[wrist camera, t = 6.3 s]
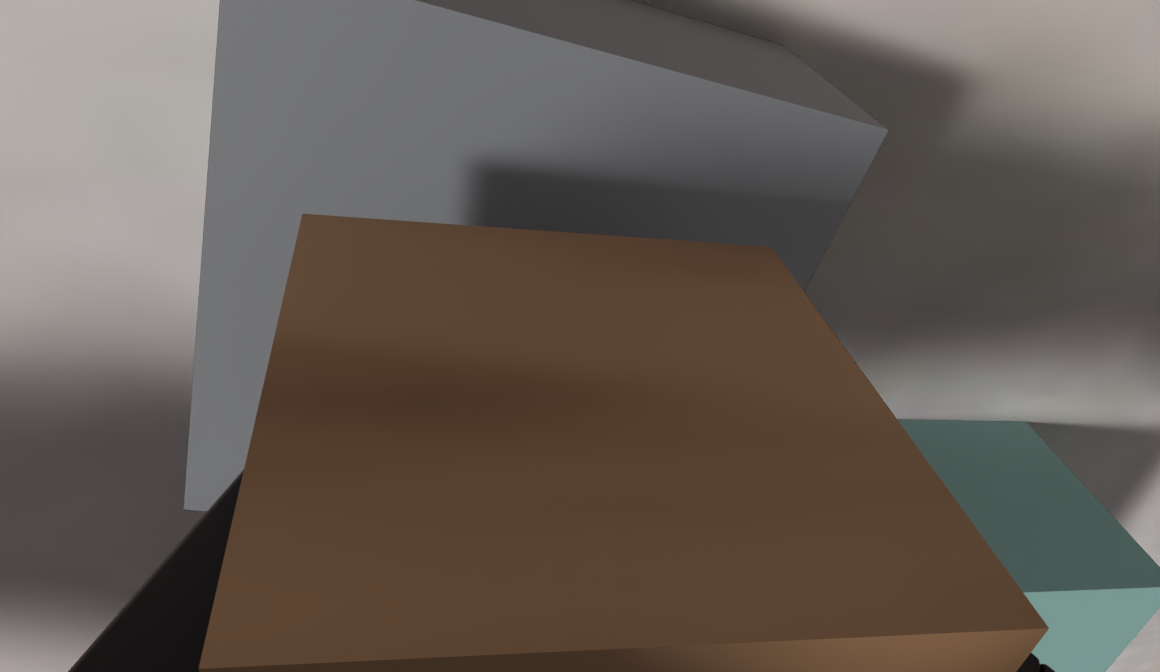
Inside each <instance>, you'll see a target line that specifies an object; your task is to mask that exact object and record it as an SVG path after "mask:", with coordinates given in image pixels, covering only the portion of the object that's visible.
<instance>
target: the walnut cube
mask: <svg viewBox="0 0 1160 672" xmlns="http://www.w3.org/2000/svg"><path fill="white" fill-rule="evenodd" d="M1048 629H1049V627H1048V626H1047V625H1046V623H1045V622H1044V621H1043V619H1042V618H1041V616H1040V615H1039V614H1038V612H1037V611H1036V610H1035V608H1034V607H1033V605H1032V604H1031V603H1030V601H1029V600H1028V599H1027V597H1026V596H1025V594H1024V593H1023V592H1022V590H1021V589H1020V588H1019V586H1018V585H1017V583H1016V582H1015V581H1014V579H1013V578H1012V577H1011V575H1010V574H1009V572H1008V571H1007V570H1006V568H1005V567H1004V566H1003V564H1002V563H1001V561H1000V560H999V559H998V557H997V556H996V555H995V553H994V552H993V551H992V549H991V548H990V546H989V545H988V544H987V542H986V541H985V540H984V538H983V537H982V535H981V534H980V533H979V531H978V530H977V529H976V527H975V526H974V524H973V523H972V522H971V520H970V519H969V518H968V516H967V515H966V513H965V512H964V511H963V509H962V508H961V507H960V505H959V504H958V502H957V501H956V500H955V498H954V497H953V496H952V494H951V493H950V491H949V490H948V489H947V487H946V486H945V485H944V483H943V482H942V480H941V479H940V478H939V476H938V475H937V474H936V472H935V471H934V469H933V468H932V467H931V465H930V464H929V463H928V461H927V460H926V458H925V457H924V456H923V454H922V453H921V452H920V450H919V449H918V447H917V446H916V445H915V443H914V442H913V441H912V439H911V438H910V437H909V435H908V434H907V432H906V431H905V430H904V428H903V427H902V426H901V424H900V423H899V421H898V420H897V419H896V417H895V416H894V415H893V413H892V412H891V410H890V409H889V408H888V406H887V405H886V404H885V402H884V401H883V399H882V398H881V397H880V395H879V394H878V393H877V391H876V390H875V388H874V387H873V386H872V384H871V383H870V382H869V380H868V379H867V377H866V376H865V375H864V373H863V372H862V371H861V369H860V368H859V366H858V365H857V364H856V362H855V361H854V360H853V358H852V357H851V355H850V354H849V353H848V351H847V350H846V349H845V347H844V346H843V344H842V343H841V342H840V340H839V339H838V338H837V336H836V335H835V333H834V332H833V331H832V329H831V328H830V327H829V325H828V324H827V322H826V321H825V320H824V318H823V317H822V316H821V314H820V313H819V312H818V310H817V309H816V307H815V306H814V305H813V303H812V302H811V301H810V299H809V298H808V296H807V295H806V294H805V292H804V291H803V290H802V288H801V287H800V285H799V284H798V283H797V281H796V280H795V279H794V277H793V276H792V274H791V273H790V272H789V270H788V269H787V268H786V266H785V265H784V263H783V262H782V261H781V259H780V258H779V257H778V255H777V254H776V252H775V251H774V250H773V248H772V247H765V246H751V245H737V244H723V243H709V242H695V241H681V240H667V239H653V238H639V237H625V236H611V235H597V234H582V233H568V232H554V231H540V230H526V229H512V228H498V227H484V226H470V225H456V224H442V223H428V222H414V221H400V220H385V219H371V218H357V217H343V216H329V215H315V214H302V218H301V222H300V226H299V231H298V235H297V240H296V244H295V248H294V253H293V257H292V261H291V266H290V270H289V275H288V279H287V283H286V288H285V292H284V296H283V301H282V305H281V310H280V314H279V318H278V323H277V327H276V332H275V336H274V340H273V345H272V349H271V353H270V358H269V362H268V367H267V371H266V375H265V380H264V384H263V388H262V393H261V397H260V402H259V406H258V410H257V415H256V419H255V424H254V428H253V432H252V437H251V441H250V445H249V450H248V454H247V459H246V463H245V467H244V472H243V476H242V480H241V485H240V489H239V494H238V498H237V502H236V507H235V511H234V516H233V520H232V524H231V529H230V533H229V537H228V542H227V546H226V551H225V555H224V559H223V564H222V568H221V572H220V577H219V581H218V586H217V590H216V594H215V599H214V603H213V608H212V612H211V616H210V621H209V625H208V629H207V634H206V638H205V643H204V647H203V651H202V656H201V660H200V665H199V672H1017V670H1018V669H1019V668H1020V666H1021V665H1022V664H1023V662H1024V661H1025V660H1026V658H1027V657H1028V656H1029V654H1030V653H1031V652H1032V650H1033V649H1034V648H1035V646H1036V645H1037V644H1038V642H1039V641H1040V640H1041V638H1042V637H1043V636H1044V635H1045V633H1046V632H1047V631H1048Z"/></svg>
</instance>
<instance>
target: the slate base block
mask: <svg viewBox="0 0 1160 672" xmlns="http://www.w3.org/2000/svg"><path fill="white" fill-rule="evenodd" d="M887 132H888V129H887V128H886V127H885V126H883V125H882V124H881V123H880V122H878V121H877V120H876V119H875V118H873V117H872V116H871V115H870V114H868V113H867V112H866V111H865V110H863V109H862V108H861V107H860V106H858V105H857V104H856V103H855V102H853V101H852V100H851V99H850V98H848V97H847V96H846V95H845V94H843V93H842V92H841V91H840V90H838V89H837V88H836V87H835V86H833V85H832V84H831V83H830V82H828V81H827V80H826V79H825V78H823V77H822V76H821V75H820V74H818V73H817V72H816V71H815V70H813V69H812V68H811V67H810V66H808V65H807V64H806V63H805V62H803V61H802V60H801V59H800V58H798V57H797V56H796V55H795V54H793V53H792V52H791V51H790V50H789V49H787V48H786V47H785V46H783V45H780V44H776V43H773V42H770V41H766V40H763V39H760V38H756V37H753V36H750V35H746V34H743V33H739V32H736V31H733V30H729V29H726V28H723V27H719V26H716V25H713V24H709V23H706V22H702V21H699V20H696V19H692V18H689V17H686V16H682V15H679V14H676V13H672V12H669V11H665V10H662V9H659V8H655V7H652V6H649V5H645V4H642V3H639V2H635V1H632V0H220V5H219V19H218V33H217V47H216V61H215V75H214V89H213V103H212V117H211V131H210V145H209V159H208V173H207V187H206V201H205V215H204V229H203V243H202V257H201V271H200V285H199V299H198V313H197V327H196V341H195V355H194V369H193V383H192V397H191V411H190V425H189V439H188V453H187V467H186V481H185V496H184V509H185V510H197V511H208V510H209V508H210V507H211V506H212V505H213V504H214V503H215V502H216V500H217V499H218V498H219V497H220V496H221V495H222V493H223V492H224V491H225V490H226V489H227V488H228V487H229V485H230V484H231V483H232V482H233V481H234V480H235V478H236V477H237V476H238V475H239V474H240V473H241V472H242V470H243V469H244V467H245V463H246V459H247V454H248V450H249V445H250V441H251V437H252V432H253V428H254V424H255V419H256V415H257V410H258V406H259V402H260V397H261V393H262V388H263V384H264V380H265V375H266V371H267V367H268V362H269V358H270V353H271V349H272V345H273V340H274V336H275V332H276V327H277V323H278V318H279V314H280V310H281V305H282V301H283V296H284V292H285V288H286V283H287V279H288V275H289V270H290V266H291V261H292V257H293V253H294V248H295V244H296V240H297V235H298V231H299V226H300V222H301V218H302V214H315V215H329V216H343V217H357V218H371V219H385V220H400V221H414V222H428V223H442V224H456V225H470V226H484V227H498V228H512V229H526V230H540V231H554V232H568V233H582V234H597V235H611V236H625V237H639V238H653V239H667V240H681V241H695V242H709V243H723V244H737V245H751V246H765V247H772V248H773V250H774V251H775V252H776V254H777V255H778V257H779V258H780V259H781V261H782V262H783V263H784V265H785V266H786V268H787V269H788V270H789V272H790V273H791V274H792V276H793V277H794V279H795V280H796V281H797V283H798V284H799V285H800V287H801V288H802V290H803V291H804V292H805V290H806V288H807V286H808V284H809V282H810V280H811V278H812V276H813V274H814V272H815V271H816V269H817V267H818V265H819V263H820V261H821V259H822V257H823V255H824V253H825V251H826V249H827V247H828V246H829V244H830V242H831V240H832V238H833V236H834V234H835V232H836V230H837V228H838V226H839V224H840V223H841V221H842V219H843V217H844V215H845V213H846V211H847V209H848V207H849V205H850V203H851V201H852V199H853V198H854V196H855V194H856V192H857V190H858V188H859V186H860V184H861V182H862V180H863V178H864V176H865V174H866V173H867V171H868V169H869V167H870V165H871V163H872V161H873V159H874V157H875V155H876V153H877V151H878V150H879V148H880V146H881V144H882V142H883V140H884V138H885V136H886V134H887Z"/></svg>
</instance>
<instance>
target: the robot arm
mask: <svg viewBox="0 0 1160 672" xmlns="http://www.w3.org/2000/svg"><path fill="white" fill-rule="evenodd" d="M243 472H244V469H243V470H242V472H241V473H240V474H239V475H238V476H237V477H236V478H235V480H234V481H233V482H232V483H231V484H230V485H229V487H228V488H227V489H226V490H225V491H224V492H223V493H222V495H221V496H220V497H219V498H218V499H217V500H216V502H215V503H214V504H213V505H212V506H211V507H210V508H209V510H208V511H207V512H206V513H205V514H204V515H203V517H202V518H201V519H200V520H199V521H198V522H197V523H196V525H195V526H194V527H193V528H192V529H191V530H190V532H189V533H188V534H187V535H186V536H185V537H184V539H183V540H182V541H181V542H180V543H179V544H178V545H177V547H176V548H175V549H174V550H173V551H172V552H171V554H170V555H169V556H168V557H167V558H166V559H165V560H164V562H163V563H162V564H161V565H160V566H159V567H158V569H157V570H156V571H155V572H154V573H153V574H152V575H151V577H150V578H149V579H148V580H147V581H146V582H145V584H144V585H143V586H142V587H141V588H140V589H139V590H138V592H137V593H136V594H135V595H134V596H133V597H132V599H131V600H130V601H129V602H128V603H127V604H126V605H125V607H124V608H123V609H122V610H121V611H120V612H119V614H118V615H117V616H116V617H115V618H114V619H113V620H112V622H111V623H110V624H109V625H108V626H107V627H106V629H105V630H104V631H103V632H102V633H101V634H100V635H99V637H98V638H97V639H96V640H95V641H94V642H93V644H92V645H91V646H90V647H89V648H88V649H87V650H86V652H85V653H84V654H83V655H82V656H81V657H80V659H79V660H78V661H77V662H76V663H75V664H74V665H73V667H72V668H71V669H70V670H69V671H68V672H199V665H200V660H201V656H202V651H203V647H204V643H205V638H206V634H207V629H208V625H209V621H210V616H211V612H212V608H213V603H214V599H215V594H216V590H217V586H218V581H219V577H220V572H221V568H222V564H223V559H224V555H225V551H226V546H227V542H228V537H229V533H230V529H231V524H232V520H233V516H234V511H235V507H236V502H237V498H238V494H239V489H240V485H241V480H242V476H243ZM1017 672H1055V671H1054V670H1053V669H1051V668H1050V667H1049V666H1048V665H1046V664H1040V662H1039V659H1038V658H1037V657H1036V656H1035V655H1034V654H1032V653H1030V654H1029V656H1028V657H1027V658H1026V660H1025V661H1024V662H1023V664H1022V665H1021V666H1020V668H1019V669H1018V670H1017Z"/></svg>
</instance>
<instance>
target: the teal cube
mask: <svg viewBox="0 0 1160 672" xmlns="http://www.w3.org/2000/svg"><path fill="white" fill-rule="evenodd" d="M897 420H898V421H899V423H900V424H901V426H902V427H903V428H904V430H905V431H906V432H907V434H908V435H909V437H910V438H911V439H912V441H913V442H914V443H915V445H916V446H917V447H918V449H919V450H920V452H921V453H922V454H923V456H924V457H925V458H926V460H927V461H928V463H929V464H930V465H931V467H932V468H933V469H934V471H935V472H936V474H937V475H938V476H939V478H940V479H941V480H942V482H943V483H944V485H945V486H946V487H947V489H948V490H949V491H950V493H951V494H952V496H953V497H954V498H955V500H956V501H957V502H958V504H959V505H960V507H961V508H962V509H963V511H964V512H965V513H966V515H967V516H968V518H969V519H970V520H971V522H972V523H973V524H974V526H975V527H976V529H977V530H978V531H979V533H980V534H981V535H982V537H983V538H984V540H985V541H986V542H987V544H988V545H989V546H990V548H991V549H992V551H993V552H994V553H995V555H996V556H997V557H998V559H999V560H1000V561H1001V563H1002V564H1003V566H1004V567H1005V568H1006V570H1007V571H1008V572H1009V574H1010V575H1011V577H1012V578H1013V579H1014V581H1015V582H1016V583H1017V585H1018V586H1019V588H1020V589H1021V590H1022V592H1023V593H1024V594H1025V596H1026V597H1027V599H1028V600H1029V601H1030V603H1031V604H1032V605H1033V607H1034V608H1035V610H1036V611H1037V612H1038V614H1039V615H1040V616H1041V618H1042V619H1043V621H1044V622H1045V623H1046V625H1047V626H1048V627H1049V629H1048V631H1047V632H1046V633H1045V635H1044V636H1043V637H1042V638H1041V640H1040V641H1039V642H1038V644H1037V645H1036V646H1035V648H1034V649H1033V650H1032V652H1031V653H1032V654H1034V655H1035V656H1036V657H1037V658H1038V659H1039V662H1040V664H1046V665H1048V666H1049V667H1050V668H1051V669H1053V670H1054V671H1055V672H1106V670H1107V669H1108V668H1109V667H1110V666H1111V665H1112V663H1113V662H1114V661H1115V660H1116V659H1117V657H1118V656H1119V655H1120V654H1121V653H1122V652H1123V650H1124V649H1125V648H1126V647H1127V646H1128V644H1129V643H1130V642H1131V641H1132V640H1133V639H1134V637H1135V636H1136V635H1137V634H1138V633H1139V631H1140V630H1141V629H1142V628H1143V627H1144V626H1145V624H1146V623H1147V622H1148V621H1149V620H1150V618H1151V617H1152V616H1153V615H1154V614H1155V612H1156V611H1157V610H1158V609H1159V608H1160V567H1159V566H1158V565H1157V564H1156V563H1155V562H1154V561H1153V559H1152V558H1151V557H1150V556H1149V555H1148V554H1147V553H1146V552H1145V551H1144V550H1143V549H1142V547H1141V546H1140V545H1139V544H1138V543H1137V542H1136V541H1135V540H1134V539H1133V538H1132V537H1131V535H1130V534H1129V533H1128V532H1127V531H1126V530H1125V529H1124V528H1123V527H1122V526H1121V525H1120V524H1119V522H1118V521H1117V520H1116V519H1115V518H1114V517H1113V516H1112V515H1111V514H1110V513H1109V512H1108V510H1107V509H1106V508H1105V507H1104V506H1103V505H1102V504H1101V503H1100V502H1099V501H1098V500H1097V498H1096V497H1095V496H1094V495H1093V494H1092V493H1091V492H1090V491H1089V490H1088V489H1087V488H1086V487H1085V485H1084V484H1083V483H1082V482H1081V481H1080V480H1079V479H1078V478H1077V477H1076V476H1075V475H1074V473H1073V472H1072V471H1071V470H1070V469H1069V468H1068V467H1067V466H1066V465H1065V464H1064V463H1063V461H1062V460H1061V459H1060V458H1059V457H1058V456H1057V455H1056V454H1055V453H1054V452H1053V451H1052V450H1051V448H1050V447H1049V446H1048V445H1047V444H1046V443H1045V442H1044V441H1043V440H1042V439H1041V438H1040V436H1039V435H1038V434H1037V433H1036V432H1035V431H1034V430H1033V429H1032V428H1031V427H1030V426H1029V425H1028V423H1027V422H1020V421H961V420H903V419H897Z"/></svg>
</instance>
